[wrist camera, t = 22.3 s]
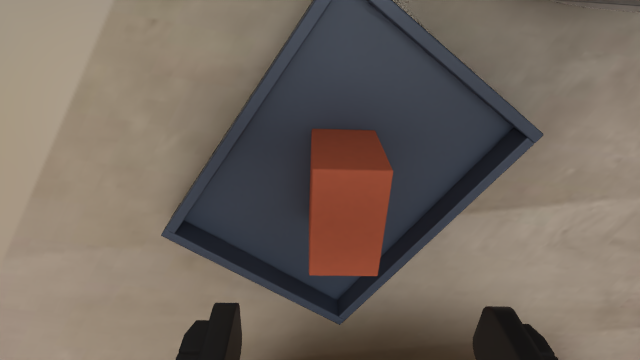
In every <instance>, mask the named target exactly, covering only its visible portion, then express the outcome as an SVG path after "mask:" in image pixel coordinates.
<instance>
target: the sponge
mask: <svg viewBox="0 0 640 360" xmlns="http://www.w3.org/2000/svg"><path fill="white" fill-rule="evenodd" d="M392 177H393V170H392V167H391V165H390V163H389V161H388V159H387V156H386V154H385V152H384V150H383V147H382V145H381V143H380V141H379V138H378V136H377V134H376V132H375V131H374V130H342V129H312V132H311V166H310V199H309V275H317V276H377V275H378V271H379V264H380V257H381V251H382V244H383V237H384V231H385V224H386V217H387V211H388V204H389V197H390V191H391V184H392Z"/></svg>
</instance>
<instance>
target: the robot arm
mask: <svg viewBox="0 0 640 360" xmlns="http://www.w3.org/2000/svg"><path fill="white" fill-rule="evenodd" d="M241 346H242V330H241V319H240V307H239V303H215V304H214V306H213V309H212V312H211V316H210V319H209V321H207V320H196V321H195V323H194V324H193V325H192V326H191V327H190V329H189V330H188V331H187V332H186V333H185V335H184V337H183V340H182V343H181V346H180V349H179V354H178V355H177V357H176V360H240V355H241ZM473 350H474V354H475V357H476V359H477V360H558V358H557V357H555V356H554V352H553V351H552V349H551V348H550V346H549V345H548V343H547V342H546V340H545V339H544V337H543V336H541V335H540V334H539V333H538V332H537V331H536V330H535V329H534V328H533V327H531V326H530V325H529V324H522V322H521V321H520V319H519V317H518V316H517V314H516V313H515V311H514V310H513V309H512V308H511V307H492V306H487V307H485V308H484V309H483V311H482V314H481V317H480V320H479V322H478V325H477V328H476V331H475V333H474V336H473Z"/></svg>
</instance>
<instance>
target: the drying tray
mask: <svg viewBox="0 0 640 360" xmlns="http://www.w3.org/2000/svg"><path fill="white" fill-rule="evenodd" d="M312 129H342V130H374V131H375V132H376V134H377V136H378V138H379V141H380V143H381V145H382V147H383V150H384V152H385V154H386V156H387V159H388V161H389V163H390V165H391V167H392V170H393V177H392V184H391V191H390V197H389V204H388V211H387V217H386V224H385V231H384V237H383V244H382V251H381V257H380V264H379V271H378V275H377V276H317V275H309V199H310V166H311V132H312ZM542 136H543V133H542V132H541V131H539V130H538V129H537V128H536V127H535V126H534V125H533V124H532V123H530V122H529V121H528V120H527V119H526V118H525V117H524V116H522V115H521V114H520V113H519V112H518V111H517V110H516V109H515V108H513V107H512V106H511V105H510V104H509V103H508V102H507V101H505V100H504V99H503V98H502V97H501V96H500V95H499V94H498V93H496V92H495V91H494V90H493V89H492V88H491V87H490V86H488V85H487V84H486V83H485V82H484V81H483V80H482V79H481V78H479V77H478V76H477V75H476V74H475V73H474V72H473V71H471V70H470V69H469V68H468V67H467V66H466V65H465V64H464V63H462V62H461V61H460V60H459V59H458V58H457V57H456V56H455V55H453V54H452V53H451V52H450V51H449V50H448V49H447V48H445V47H444V46H443V45H442V44H441V43H440V42H439V41H438V40H436V39H435V38H434V37H433V36H432V35H431V34H430V33H428V32H427V31H426V30H425V29H424V28H423V27H422V26H421V25H419V24H418V23H417V22H416V21H415V20H414V19H413V18H411V17H410V16H409V15H408V14H407V13H406V12H405V11H404V10H402V9H401V8H400V7H399V6H398V5H397V4H396V3H394V2H393V1H392V0H313V1H312V3H311V4H310V6H309V7H308V9H307V10H306V12H305V14H304V15H303V17H302V18H301V20H300V21H299V23H298V24H297V26H296V27H295V29H294V30H293V32H292V33H291V35H290V36H289V38H288V40H287V41H286V43H285V44H284V46H283V47H282V49H281V50H280V52H279V53H278V55H277V56H276V58H275V59H274V61H273V63H272V64H271V66H270V67H269V69H268V70H267V72H266V73H265V75H264V76H263V78H262V79H261V81H260V82H259V84H258V85H257V87H256V89H255V90H254V92H253V93H252V95H251V96H250V98H249V99H248V101H247V102H246V104H245V105H244V107H243V108H242V110H241V112H240V113H239V115H238V116H237V118H236V119H235V121H234V122H233V124H232V125H231V127H230V128H229V130H228V131H227V133H226V134H225V136H224V138H223V139H222V141H221V142H220V144H219V145H218V147H217V148H216V150H215V151H214V153H213V154H212V156H211V157H210V159H209V161H208V162H207V164H206V165H205V167H204V168H203V170H202V171H201V173H200V174H199V176H198V177H197V179H196V180H195V182H194V183H193V185H192V187H191V188H190V190H189V191H188V193H187V194H186V196H185V197H184V199H183V200H182V202H181V203H180V205H179V206H178V208H177V210H176V211H175V213H174V214H173V216H172V217H171V219H170V221H169V222H168V224H167V226H166V227H165V229H164V231H163V233H162V234H161V236H163V237H165V238H167V239H169V240H171V241H173V242H175V243H177V244H179V245H181V246H183V247H185V248H187V249H189V250H191V251H193V252H195V253H197V254H199V255H201V256H203V257H205V258H207V259H209V260H211V261H213V262H215V263H217V264H219V265H221V266H223V267H225V268H227V269H229V270H231V271H233V272H235V273H237V274H239V275H241V276H243V277H245V278H247V279H249V280H251V281H253V282H255V283H257V284H259V285H261V286H263V287H265V288H267V289H269V290H271V291H273V292H275V293H277V294H279V295H281V296H283V297H285V298H287V299H289V300H291V301H293V302H295V303H297V304H299V305H301V306H303V307H305V308H307V309H309V310H311V311H313V312H315V313H317V314H319V315H321V316H323V317H325V318H327V319H329V320H331V321H333V322H335V323H337V324H339V325H340V324H341V323H343V322H344V321H345V320H346V319H347V318H348V317H349V316H350V315H351V314H352V313H353V312H354V311H355V310H356V309H358V308H359V307H360V306H361V305H362V304H363V303H364V302H365V301H366V300H367V299H368V298H369V297H370V296H371V295H373V294H374V293H375V292H376V291H377V290H378V289H379V288H380V287H381V286H382V285H383V284H384V283H385V282H386V281H388V280H389V279H390V278H391V277H392V276H393V275H394V274H395V273H396V272H397V271H398V270H399V269H400V268H402V267H403V266H404V265H405V264H406V263H407V262H408V261H409V260H410V259H411V258H412V257H413V256H414V255H415V254H417V253H418V252H419V251H420V250H421V249H422V248H423V247H424V246H425V245H426V244H427V243H428V242H429V241H430V240H432V239H433V238H434V237H435V236H436V235H437V234H438V233H439V232H440V231H441V230H442V229H443V228H444V227H445V226H447V225H448V224H449V223H450V222H451V221H452V220H453V219H454V218H455V217H456V216H457V215H458V214H459V213H461V212H462V211H463V210H464V209H465V208H466V207H467V206H468V205H469V204H470V203H471V202H472V201H473V200H474V199H476V198H477V197H478V196H479V195H480V194H481V193H482V192H483V191H484V190H485V189H486V188H487V187H488V186H489V185H491V184H492V183H493V182H494V181H495V180H496V179H497V178H498V177H499V176H500V175H501V174H502V173H503V172H504V171H506V170H507V169H508V168H509V167H510V166H511V165H512V164H513V163H514V162H515V161H516V160H517V159H518V158H520V157H521V156H522V155H523V154H524V153H525V152H526V151H527V150H528V149H529V148H530V147H531V146H532V145H533V144H534V143H536V142H537V141H538V140H539V139H540V138H541V137H542Z"/></svg>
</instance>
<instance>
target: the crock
mask: <svg viewBox="0 0 640 360" xmlns="http://www.w3.org/2000/svg"><path fill="white" fill-rule="evenodd" d="M550 1H554V2H557V3H560V4H568V5H574V6H579V7H583V8H594V9H605V10H616V11H627V12H639V13H640V0H550Z"/></svg>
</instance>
